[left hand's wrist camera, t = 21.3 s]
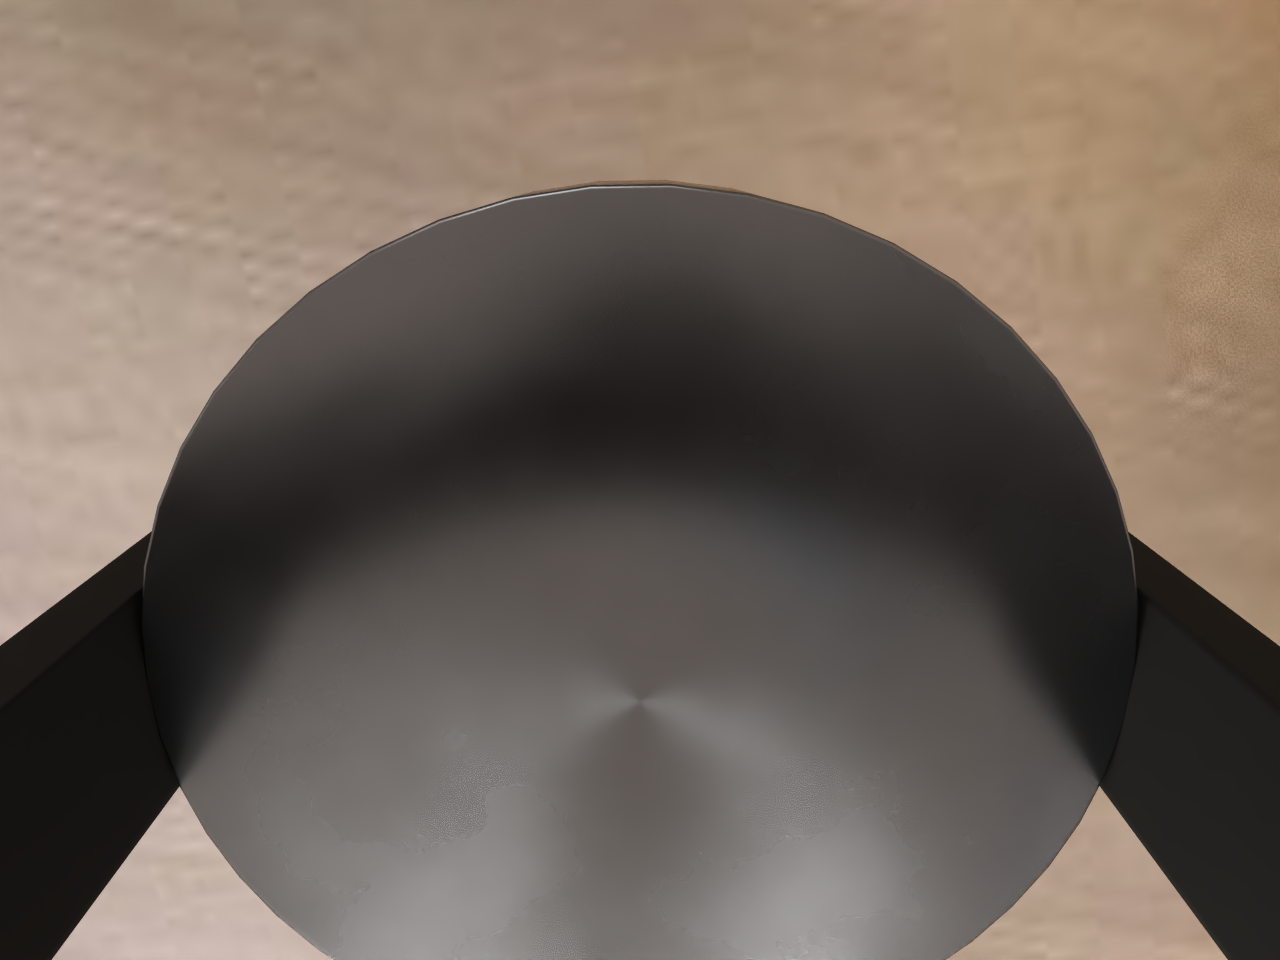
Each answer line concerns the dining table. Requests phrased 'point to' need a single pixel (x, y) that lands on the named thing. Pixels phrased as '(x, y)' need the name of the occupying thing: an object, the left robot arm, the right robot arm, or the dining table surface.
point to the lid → (639, 594)
